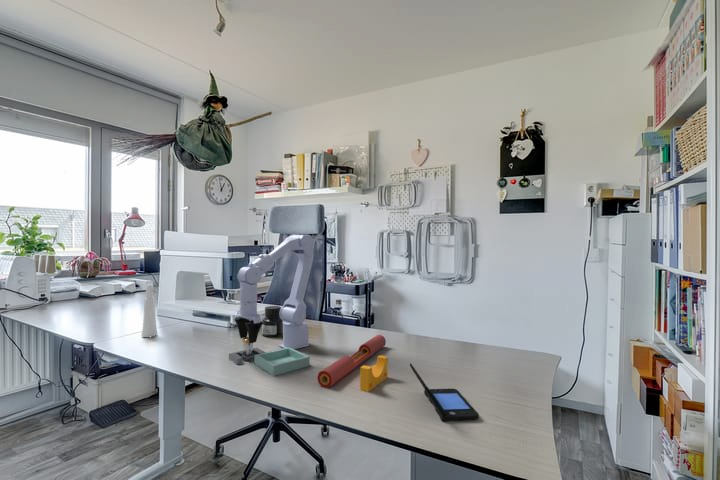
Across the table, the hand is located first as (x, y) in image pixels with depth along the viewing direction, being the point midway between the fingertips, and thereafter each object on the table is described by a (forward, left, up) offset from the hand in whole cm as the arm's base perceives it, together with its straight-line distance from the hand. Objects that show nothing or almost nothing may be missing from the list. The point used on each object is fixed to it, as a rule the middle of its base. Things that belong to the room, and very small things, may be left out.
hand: (248, 340), depth 121 cm
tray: (-6, +13, -7) cm, 16 cm away
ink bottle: (-21, -22, -7) cm, 31 cm away
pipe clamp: (-19, +43, -7) cm, 47 cm away
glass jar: (0, 0, -7) cm, 7 cm away
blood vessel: (-26, +28, -7) cm, 39 cm away
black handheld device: (-23, +65, -7) cm, 69 cm away
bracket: (0, 0, -7) cm, 7 cm away
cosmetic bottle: (+20, -54, -7) cm, 58 cm away
